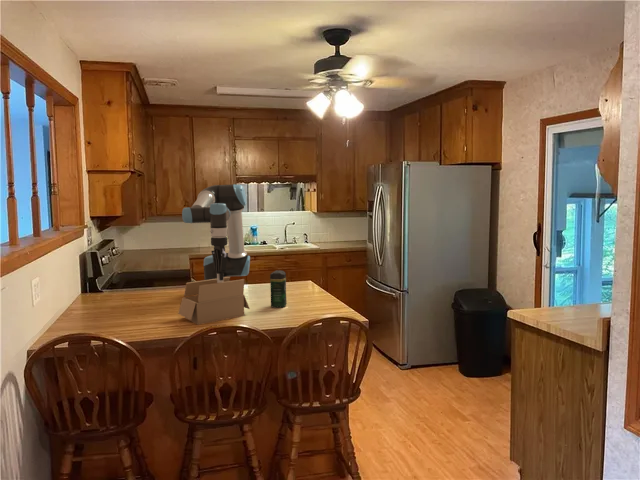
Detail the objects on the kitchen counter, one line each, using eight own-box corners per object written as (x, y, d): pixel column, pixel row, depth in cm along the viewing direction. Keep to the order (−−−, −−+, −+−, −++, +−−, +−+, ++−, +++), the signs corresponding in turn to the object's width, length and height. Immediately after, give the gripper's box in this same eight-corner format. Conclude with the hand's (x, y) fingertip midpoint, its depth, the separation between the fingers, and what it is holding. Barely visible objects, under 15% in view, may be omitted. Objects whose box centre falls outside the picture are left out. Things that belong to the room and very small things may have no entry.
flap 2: (198, 301, 233) (199, 285, 231) (242, 294, 247) (243, 279, 245) (198, 302, 233) (199, 286, 231) (243, 294, 246) (244, 279, 244)
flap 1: (183, 295, 247) (186, 282, 243) (226, 288, 261) (229, 276, 257) (184, 296, 247) (186, 283, 243) (227, 289, 260) (230, 277, 256)
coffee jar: (284, 308, 261) (283, 272, 259) (269, 308, 262) (268, 272, 260) (288, 303, 271) (287, 269, 269) (273, 303, 272) (272, 269, 270)
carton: (177, 319, 245) (176, 298, 244) (235, 308, 264) (234, 288, 262) (191, 326, 233) (189, 304, 232) (250, 314, 251) (249, 293, 250)
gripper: (205, 236, 239) (207, 285, 242) (217, 238, 229) (219, 290, 231) (220, 235, 243) (222, 283, 246) (232, 237, 233) (234, 288, 236)
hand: (220, 286), depth 239 cm, fingers closed
